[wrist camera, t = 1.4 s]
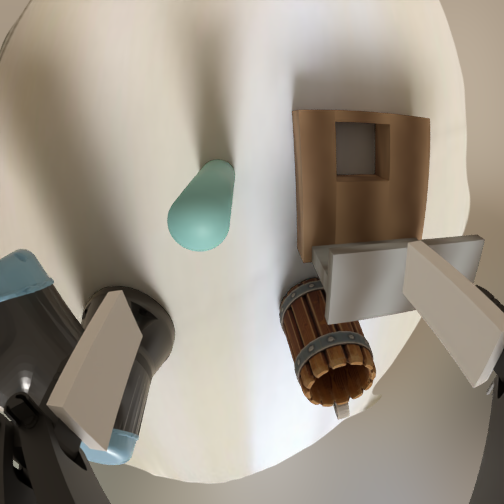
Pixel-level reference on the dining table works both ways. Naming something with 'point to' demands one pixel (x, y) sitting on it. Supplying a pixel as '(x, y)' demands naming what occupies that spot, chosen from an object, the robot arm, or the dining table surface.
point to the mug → (325, 349)
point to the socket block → (367, 213)
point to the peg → (204, 208)
